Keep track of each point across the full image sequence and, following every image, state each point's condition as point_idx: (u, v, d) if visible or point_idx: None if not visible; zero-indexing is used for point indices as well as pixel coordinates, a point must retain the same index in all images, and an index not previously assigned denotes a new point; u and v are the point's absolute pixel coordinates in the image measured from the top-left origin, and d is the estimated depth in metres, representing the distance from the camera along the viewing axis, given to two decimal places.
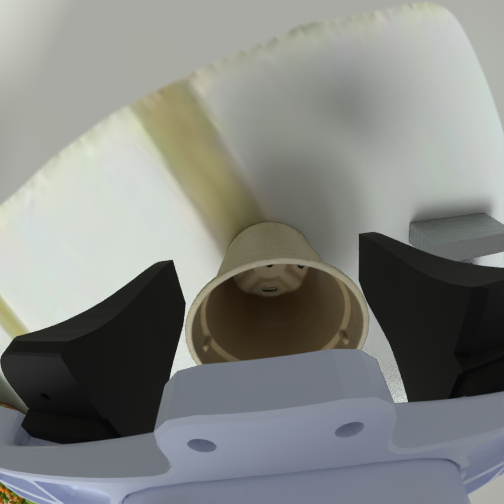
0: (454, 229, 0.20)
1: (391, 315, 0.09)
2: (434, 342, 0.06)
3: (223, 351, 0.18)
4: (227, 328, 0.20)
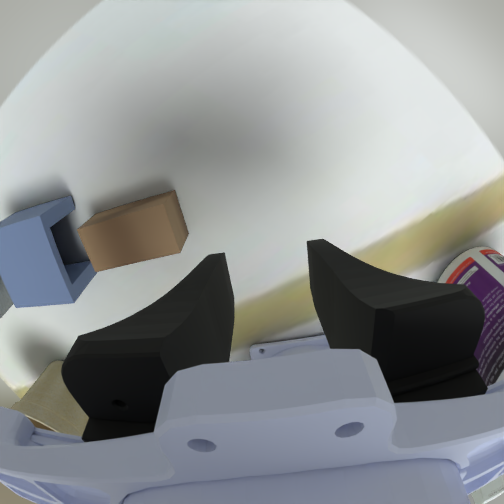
0: None
1: (331, 327, 0.09)
2: None
3: None
4: None
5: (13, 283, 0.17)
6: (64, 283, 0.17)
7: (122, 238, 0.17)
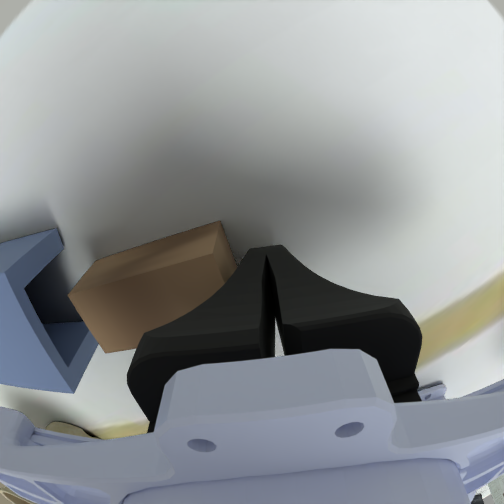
0: None
1: (282, 334, 0.09)
2: None
3: None
4: None
5: None
6: (56, 369, 0.10)
7: (143, 308, 0.11)
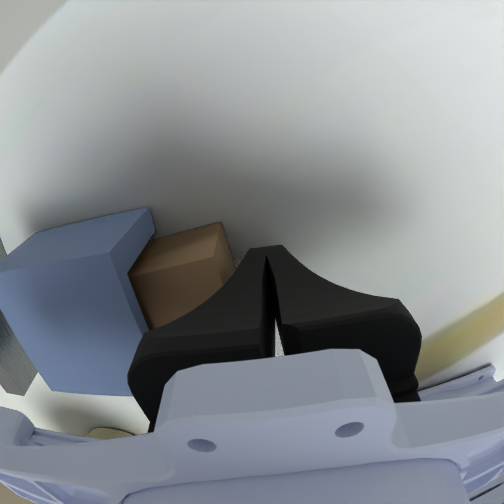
0: None
1: (282, 334, 0.09)
2: None
3: None
4: None
5: (47, 359, 0.10)
6: None
7: None
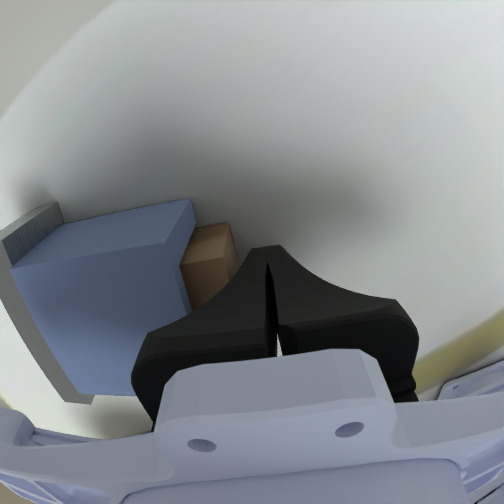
0: None
1: None
2: None
3: None
4: None
5: (77, 360, 0.10)
6: None
7: None
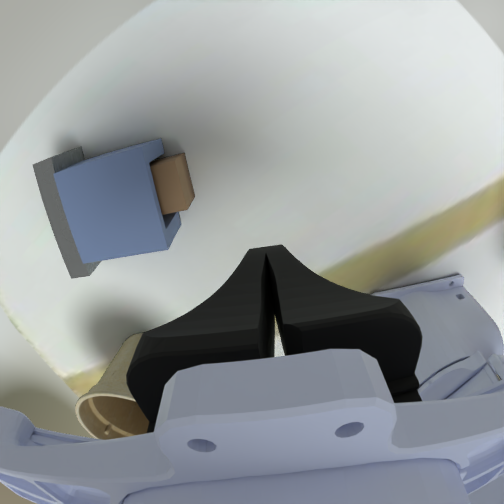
0: None
1: (282, 334, 0.09)
2: None
3: None
4: None
5: (86, 232, 0.17)
6: (160, 226, 0.17)
7: None
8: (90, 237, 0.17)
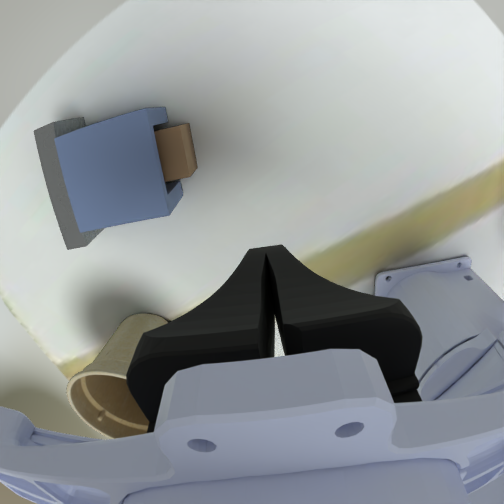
0: None
1: (282, 334, 0.09)
2: None
3: None
4: None
5: (84, 198, 0.16)
6: (162, 190, 0.16)
7: None
8: (88, 204, 0.17)
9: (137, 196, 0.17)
